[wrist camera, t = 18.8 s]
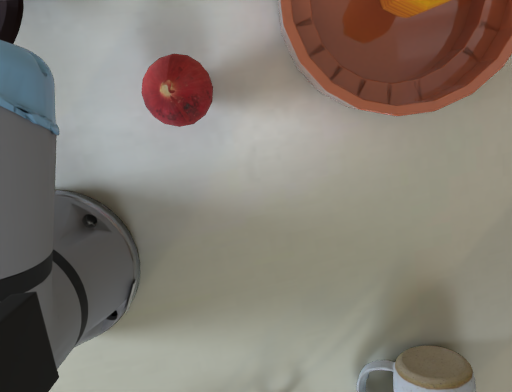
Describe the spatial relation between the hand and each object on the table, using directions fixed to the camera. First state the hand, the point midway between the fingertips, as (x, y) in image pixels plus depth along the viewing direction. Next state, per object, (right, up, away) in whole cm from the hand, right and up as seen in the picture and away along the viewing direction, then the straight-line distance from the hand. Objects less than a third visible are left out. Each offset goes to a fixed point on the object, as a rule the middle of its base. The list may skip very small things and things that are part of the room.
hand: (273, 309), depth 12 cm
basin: (+11, +20, +27) cm, 35 cm away
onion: (-7, +13, +29) cm, 32 cm away
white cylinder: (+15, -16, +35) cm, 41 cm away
